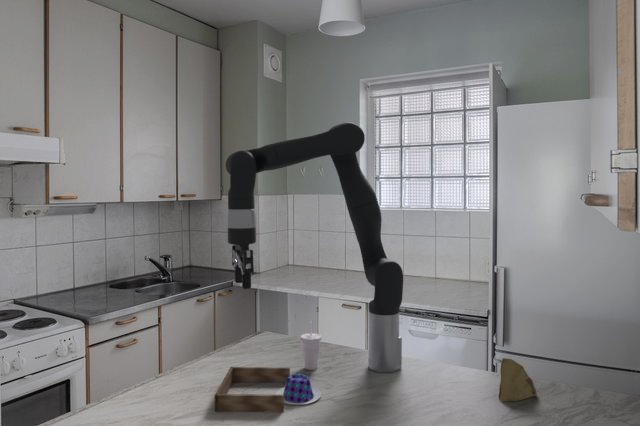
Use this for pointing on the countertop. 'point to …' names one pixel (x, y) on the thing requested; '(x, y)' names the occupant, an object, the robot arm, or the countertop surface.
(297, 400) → the pudding
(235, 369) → the box
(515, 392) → the rock
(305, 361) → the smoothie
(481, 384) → the countertop surface
